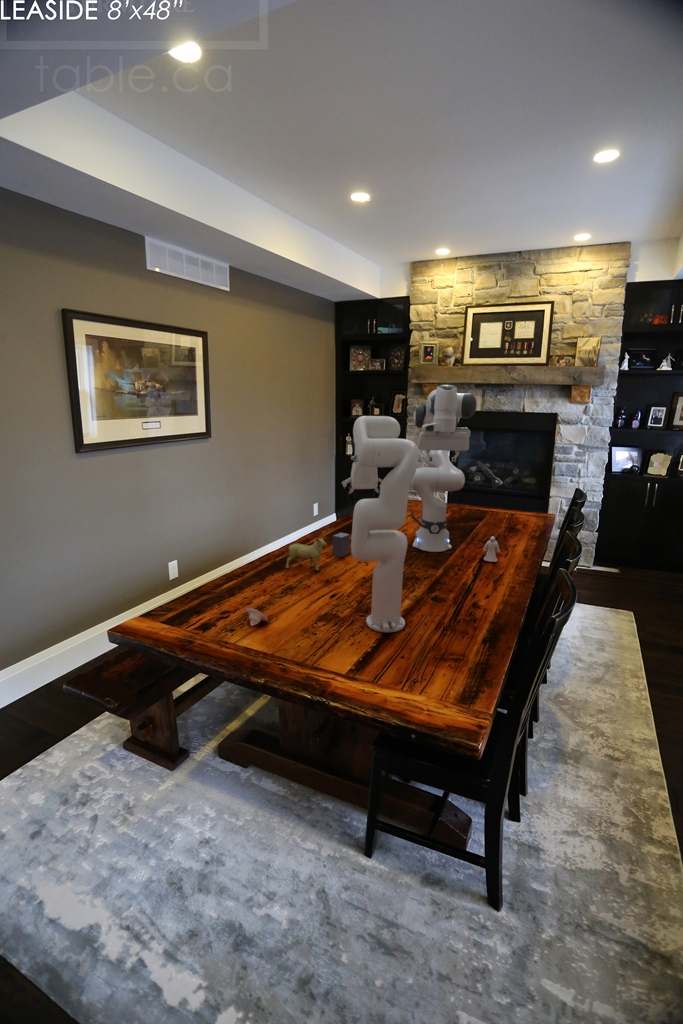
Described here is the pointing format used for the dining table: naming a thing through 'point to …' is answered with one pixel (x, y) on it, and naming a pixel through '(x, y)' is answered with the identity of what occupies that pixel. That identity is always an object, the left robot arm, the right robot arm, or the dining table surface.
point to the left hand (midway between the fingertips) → (363, 502)
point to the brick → (341, 544)
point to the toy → (306, 552)
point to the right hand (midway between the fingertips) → (441, 461)
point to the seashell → (255, 616)
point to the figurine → (491, 550)
